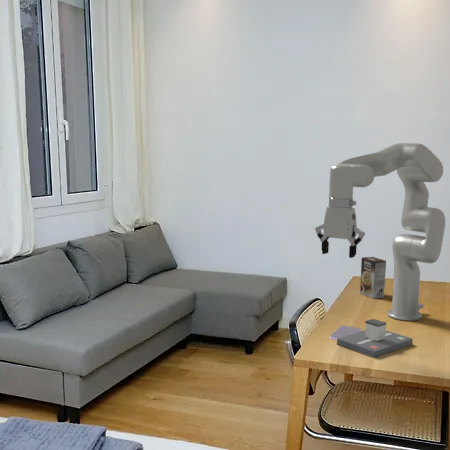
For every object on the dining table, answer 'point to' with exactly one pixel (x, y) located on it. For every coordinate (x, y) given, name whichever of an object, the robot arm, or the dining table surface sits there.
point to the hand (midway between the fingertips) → (338, 255)
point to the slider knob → (375, 329)
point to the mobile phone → (344, 332)
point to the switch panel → (374, 343)
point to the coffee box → (372, 277)
